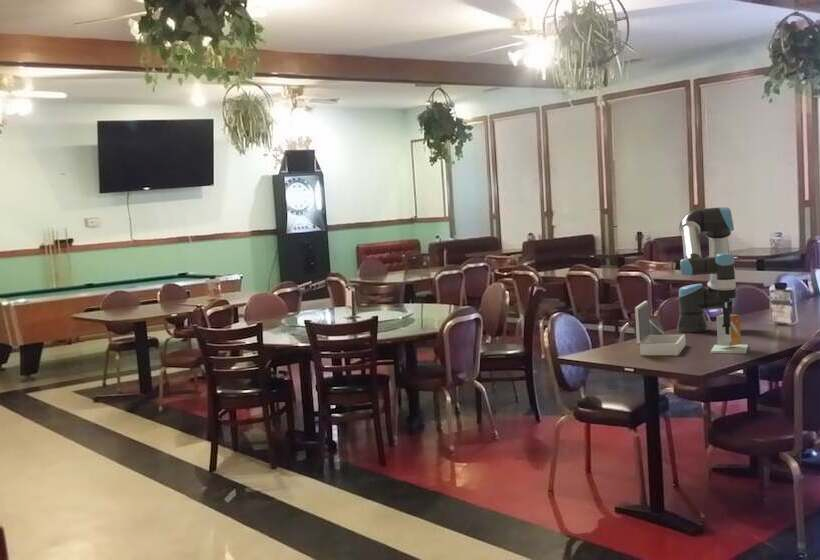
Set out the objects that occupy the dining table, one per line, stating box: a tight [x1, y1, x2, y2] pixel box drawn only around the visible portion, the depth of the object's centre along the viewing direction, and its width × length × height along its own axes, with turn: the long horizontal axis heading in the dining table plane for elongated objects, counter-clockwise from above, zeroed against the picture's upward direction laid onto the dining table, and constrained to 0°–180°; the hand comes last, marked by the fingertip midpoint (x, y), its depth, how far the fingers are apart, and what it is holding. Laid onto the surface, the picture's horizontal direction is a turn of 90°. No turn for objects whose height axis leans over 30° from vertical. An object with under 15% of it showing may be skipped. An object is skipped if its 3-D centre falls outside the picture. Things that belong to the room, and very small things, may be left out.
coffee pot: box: [649, 308, 667, 335], centre depth 396 cm, size 21×12×15 cm, turn 147°
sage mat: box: [710, 344, 749, 354], centre depth 361 cm, size 16×14×1 cm
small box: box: [715, 313, 742, 346], centre depth 360 cm, size 8×6×13 cm
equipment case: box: [634, 300, 686, 356], centre depth 373 cm, size 26×17×21 cm, turn 154°
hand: (729, 339), depth 360 cm, fingers closed on small box, 10 cm apart
